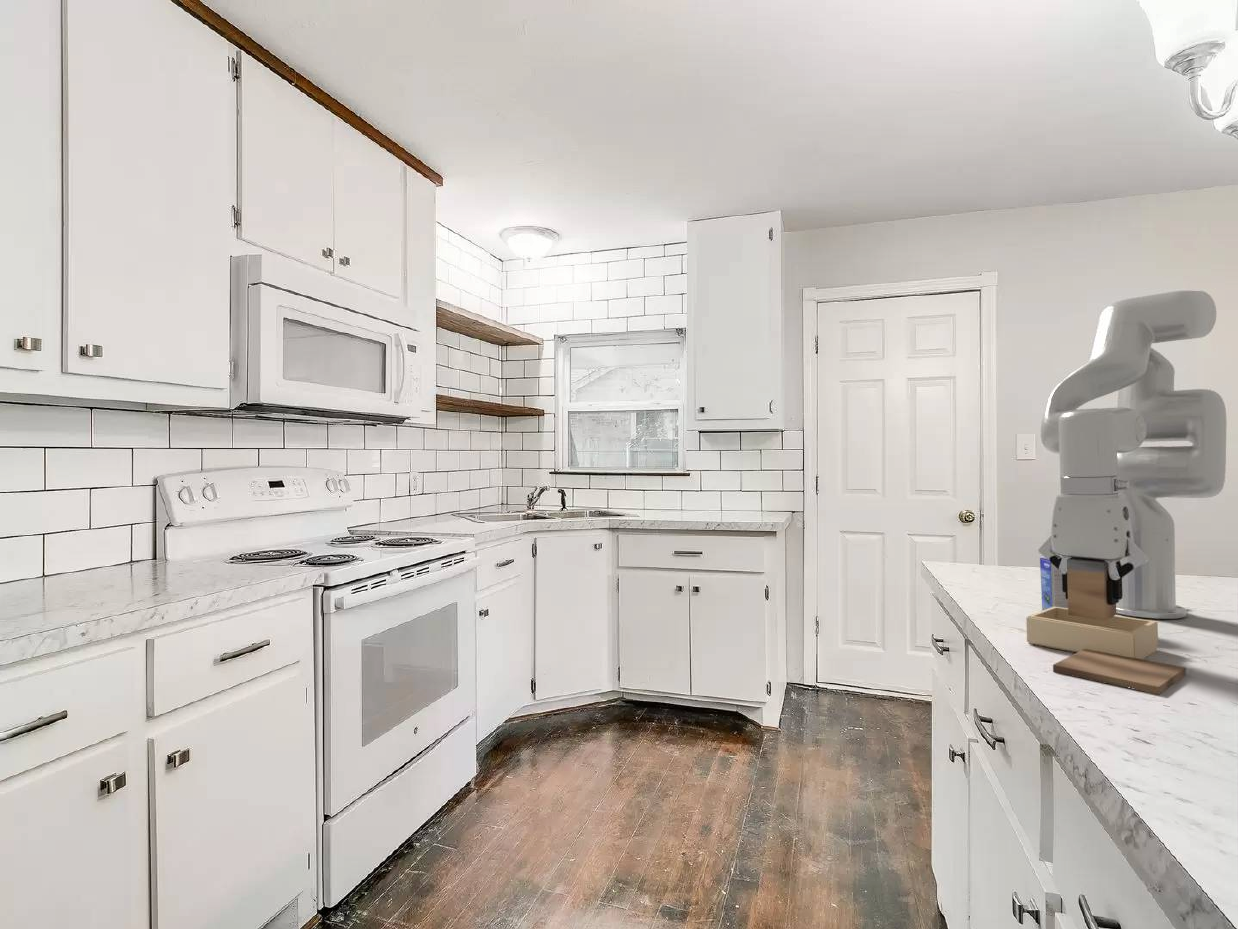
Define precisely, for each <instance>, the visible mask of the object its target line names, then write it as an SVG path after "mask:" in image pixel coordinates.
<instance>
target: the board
mask: <svg viewBox="0 0 1238 929" xmlns="http://www.w3.org/2000/svg"><path fill="white" fill-rule="evenodd" d="M1186 667H1187V666H1179V665H1175V664H1169V663H1164V662H1157V661H1154V660H1148V659H1138V658H1131V657H1125V656H1120V655H1115V654H1109V653H1104V652H1099V651H1093V650H1088V649H1083V650H1081V651H1079V652H1077V653H1075V652H1074V653H1073V654H1071V655H1070V656H1068V657H1066V658H1063V659H1062V660H1060V661H1058V662H1056V663H1054V664H1052V668H1053V669H1052V672H1053V673H1058V674H1063V675H1066V676H1070V675H1074V676H1073V677H1075V676H1078V677H1077V678H1080V677H1082V678H1081V679H1084V678H1086V680H1089V679H1090V680H1089V681H1093V682H1094V681H1095V682H1098V681H1101V682H1100V683H1102V682H1105V683H1104V684H1107V683H1109V685H1112V684H1113V686H1116V685H1118V686H1117V687H1121V686H1123V687H1122V688H1125V687H1130V688H1134V689H1137V690H1136V691H1139V690H1141V691H1140V692H1144V693H1149V694H1153V693H1155V694H1154V695H1157V694H1159V695H1160V693H1161V694H1162V693H1164V691H1166V690H1168V689H1169V688H1170V687H1171V686H1173V685H1174V684H1176V683H1177V682H1178V681H1180V680H1181V679H1182V678H1184V677H1185V676H1186V675H1187V668H1186ZM1130 688H1129V689H1130ZM1134 689H1133V690H1134Z"/></svg>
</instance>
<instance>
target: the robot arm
mask: <svg viewBox="0 0 1238 929" xmlns="http://www.w3.org/2000/svg"><path fill="white" fill-rule="evenodd" d="M1216 321H1217V308H1216V303H1215V301H1214V299H1213V298H1212V296H1211V295H1210V294H1209V293H1207V292H1206V291H1203V290H1175V291H1169V292H1163V293H1156V294H1151V295H1150V294H1149V295H1143V296H1138V297H1132V298H1131V297H1130V298H1127V299H1122V300H1119V301H1115V302H1113V303H1111V304H1109V305H1107V307H1105V308H1104V309H1103V310H1102V312H1101V314H1100V316H1099V317H1098V321H1097V325H1096V329H1095V332H1094V337H1093V341H1092V344H1091V349H1090V351H1089V356H1088V361H1087V362H1086V363H1085V364H1083V365H1082V366H1080V367H1078V368H1077V369H1075V371H1073V372H1071V373H1069V375H1067V377H1065V378H1063V380H1062V381H1061V382H1060V383H1058V384H1057V385H1056V387H1055V388H1054V389H1053V390H1052V391H1051V393H1050V395H1049V397H1048V398H1047V402H1046V406H1045V409H1044V413H1043V416H1042V418H1041V419H1042V420H1041V426H1040V439H1041V443H1042V445H1043V446H1044V448H1045V449H1046V450H1047V451H1049V452H1050V453H1054V454H1059V476H1060V477H1059V481H1060V482H1059V483H1060V484H1059V485H1060V494H1057V495H1056V497H1055V500H1054V507H1053V511H1052V518H1051V530H1050V531H1051V533H1050V536H1049V537H1048V538H1047V540H1046V541H1045V542H1044V543H1043V544H1042V545H1041V546H1040V547H1039V548H1038V553H1039V554H1041V555H1042V556H1043V558H1047V559H1048V560H1050V562H1051V563H1052V564H1053V565H1054V566H1055V567H1056V568H1057V569H1058V570H1059V573H1061V574H1062V590H1063V592H1065V596H1066V599H1068V586H1067V559H1069V558H1070V559H1071V558H1074V557H1075V558H1085V559H1096V560H1104V561H1105V562H1106V566H1107V569H1108V572H1109V579H1108V580H1107V604H1109V605H1114V604H1116V612H1117V614H1119V615H1123V616H1127V617H1133V618H1142V619H1143V618H1146V619H1156V620H1157V619H1159V620H1160V619H1161V620H1163V619H1164V620H1170V619H1171V620H1174V619H1175V620H1177V619H1182V618H1185V617H1187V615H1188V614H1187V609H1186V608H1184V607H1183V606H1180V605H1176V604H1177V603H1176V602H1177V600H1176V599H1177V597H1176V596H1177V594H1176V546H1175V544H1176V543H1175V537H1176V536H1175V534H1176V533H1175V531H1176V529H1175V522H1174V519H1173V517H1172V515H1171V514H1170V512H1169V511H1168V510H1167V509H1166V508H1165V506H1163V505H1162V504H1161V503H1160V502H1159V500H1157V499H1159V498H1161V499H1162V498H1163V499H1164V498H1172V499H1173V498H1174V499H1175V498H1179V499H1180V498H1183V499H1208V498H1213V497H1216V496H1218V495H1219V494H1220V493H1221V492H1222V491H1223V489H1224V485H1225V482H1226V465H1227V464H1226V463H1227V462H1226V461H1227V460H1226V459H1227V408H1226V405H1225V402H1224V399H1223V398H1222V396H1221V395H1220V394H1219V393H1218V392H1217V391H1215V390H1211V389H1207V388H1204V389H1203V388H1198V389H1197V388H1196V389H1183V390H1182V389H1181V390H1180V389H1177V390H1175V368H1174V365H1173V364H1172V363H1171V362H1170V361H1169V360H1168V359H1167V358H1166V357H1165V356H1164V355H1163V354H1162V353H1160V352H1159V351H1157V350H1156V349H1154V348H1153V347H1152V344H1158V343H1167V342H1175V341H1183V340H1184V341H1185V340H1192V339H1193V340H1195V339H1201V338H1204V337H1206V336H1208V335H1209V334H1210V333H1211V332H1212V330H1213V329H1214V326H1215V324H1216ZM1114 392H1115V393H1116V392H1118V393H1117V407H1107V408H1106V407H1104V408H1103V407H1101V408H1098V407H1097V408H1084V409H1083V408H1082V409H1081V408H1080V407H1081V406H1083V405H1085V404H1086V403H1087V404H1088V403H1089V402H1091V401H1093V400H1095V399H1096V400H1097V399H1098V398H1102V397H1105V396H1108V395H1110V394H1113V393H1114ZM1079 408H1080V409H1079ZM1184 441H1186V442H1189V443H1191V444H1192V445H1186V446H1185V445H1178V446H1177V445H1176V446H1165V445H1164V446H1162V445H1161V446H1159V445H1158V446H1141V445H1142V444H1143V443H1144V442H1145V443H1147V442H1150V443H1153V442H1184ZM1062 556H1063V557H1062Z"/></svg>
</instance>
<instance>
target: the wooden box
mask: <svg viewBox="0 0 1238 929" xmlns="http://www.w3.org/2000/svg"><path fill="white" fill-rule="evenodd" d="M1158 627H1159V624H1158V621H1155V620H1151V619H1150V620H1149V619H1143V618H1137V617H1130V616H1121V615H1117V614H1116V615H1115V616H1113V617H1111V618H1109V619H1107V620H1106V621H1104V620H1098V619H1091V618H1085V617H1078V616H1072V615H1068V608H1061V607H1051V608H1048V609H1046V610H1043V611H1042V610H1040V611H1038V612H1035V613H1033V614H1030V615H1027V617H1026V642H1027V643H1028V644H1029V645H1034V644H1035V645H1036V646H1040V647H1044V646H1045V648H1049V649H1056V650H1060V651H1061V650H1062V651H1065V650H1066V651H1065V652H1070V651H1071V652H1072V653H1075V652H1076V653H1077V652H1079V651H1081V650H1083V649H1088V650H1093V651H1099V652H1104V653H1109V654H1115V655H1120V656H1125V657H1131V658H1138V659H1143V660H1145V659H1146V658H1147V657H1149V656H1150V655H1152V654H1154V653H1156V652H1157V651H1158V648H1159V634H1158V633H1159V631H1158V630H1159V628H1158ZM1156 650H1157V651H1156ZM1145 657H1146V658H1145Z"/></svg>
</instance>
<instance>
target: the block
mask: <svg viewBox="0 0 1238 929" xmlns="http://www.w3.org/2000/svg"><path fill="white" fill-rule="evenodd" d="M1108 579H1109V572H1108V569H1107V566H1106V562H1105V561H1104V560H1096V559H1085V558H1075V557H1074V558H1071V559H1070V558H1069V559H1067V586H1068V615H1072V616H1078V617H1085V618H1091V619H1098V620H1104V621H1106V620H1107V619H1109V618H1111V617H1113V616H1115V615H1116V616H1117V614H1118V613H1117V612H1116V604H1114V605H1109V604H1107V580H1108Z"/></svg>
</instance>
